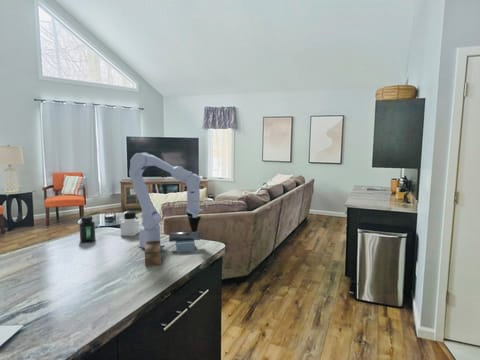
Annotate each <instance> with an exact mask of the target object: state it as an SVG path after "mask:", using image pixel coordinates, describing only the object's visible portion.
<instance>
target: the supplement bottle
mask: <svg viewBox="0 0 480 360" xmlns="http://www.w3.org/2000/svg"><path fill="white" fill-rule="evenodd" d="M80 221H81V222H80V223H79V224H78V225H79V241H80V243H83V244H84V243H92V242H95V240H96V223H95V222H94V221H93V216H92V215H85V216H81V219H80Z"/></svg>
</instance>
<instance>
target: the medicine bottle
mask: <svg viewBox="0 0 480 360" xmlns="http://www.w3.org/2000/svg"><path fill="white" fill-rule="evenodd" d="M136 213H137V212H135V211H133V210H129V211H127V210H126V211H124V212H123V221H120V225H119V226H120V236H123V237H125V236H126V237H128V236H129V237H134V236H136V235H137V234H139V232H140V219H137V218H136Z"/></svg>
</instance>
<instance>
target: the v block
mask: <svg viewBox="0 0 480 360" xmlns="http://www.w3.org/2000/svg"><path fill="white" fill-rule="evenodd" d="M195 245H196V243H195V240H186V241H176V242H175V249H176V253H184V252H195V251H196V250H195V247H196V246H195Z"/></svg>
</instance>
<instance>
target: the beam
mask: <svg viewBox="0 0 480 360" xmlns="http://www.w3.org/2000/svg"><path fill="white" fill-rule="evenodd" d="M160 244H161V240H160V241H147V242H146V247H145V248H144V266H145V267H146V266H147V267H149V266H157V265H158V266H159V265H162V264H161V263H162V261H161V259H162V258H161V256H162V255H161V253H162V251H161V247H160Z"/></svg>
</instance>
